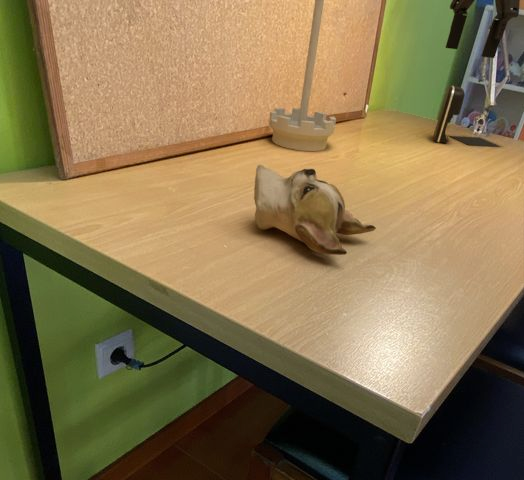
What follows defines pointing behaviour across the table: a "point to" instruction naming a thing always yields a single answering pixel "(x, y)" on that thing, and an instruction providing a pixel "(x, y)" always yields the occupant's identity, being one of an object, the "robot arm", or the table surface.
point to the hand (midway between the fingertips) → (468, 52)
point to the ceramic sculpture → (304, 209)
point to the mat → (474, 141)
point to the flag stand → (304, 107)
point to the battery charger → (448, 111)
